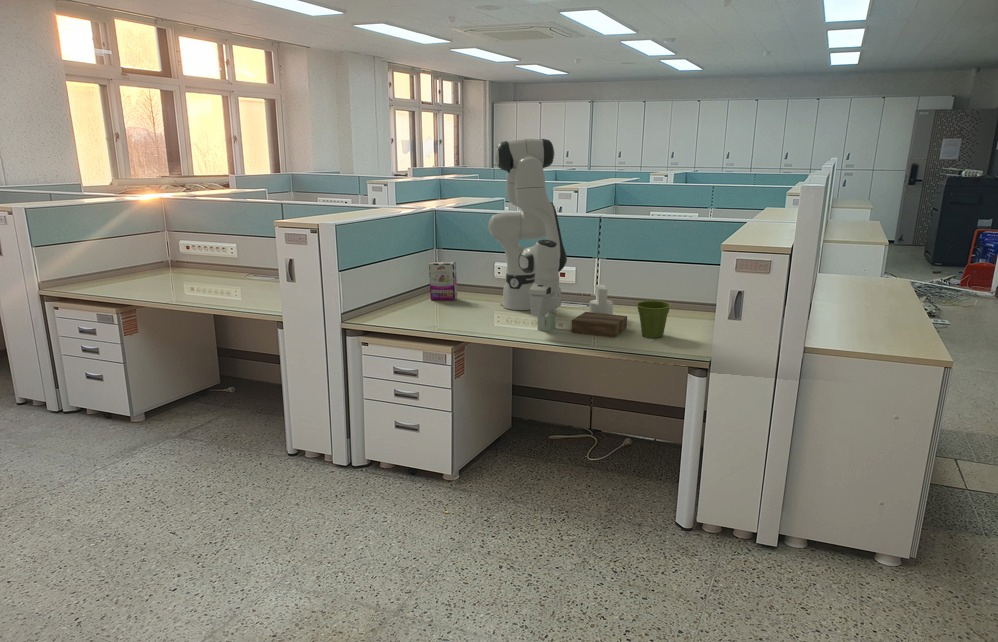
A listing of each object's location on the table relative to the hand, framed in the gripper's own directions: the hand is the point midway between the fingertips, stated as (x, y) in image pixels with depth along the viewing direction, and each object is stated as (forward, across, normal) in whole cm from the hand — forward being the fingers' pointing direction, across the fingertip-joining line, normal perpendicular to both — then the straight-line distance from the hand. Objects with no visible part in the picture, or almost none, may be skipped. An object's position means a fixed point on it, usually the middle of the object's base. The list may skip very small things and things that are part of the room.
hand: (546, 323), depth 243 cm
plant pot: (+2, -7, +37) cm, 38 cm away
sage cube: (+2, 0, 0) cm, 2 cm away
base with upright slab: (+2, -25, +12) cm, 28 cm away
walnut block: (+2, -6, +18) cm, 19 cm away
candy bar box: (+2, -27, -61) cm, 67 cm away
